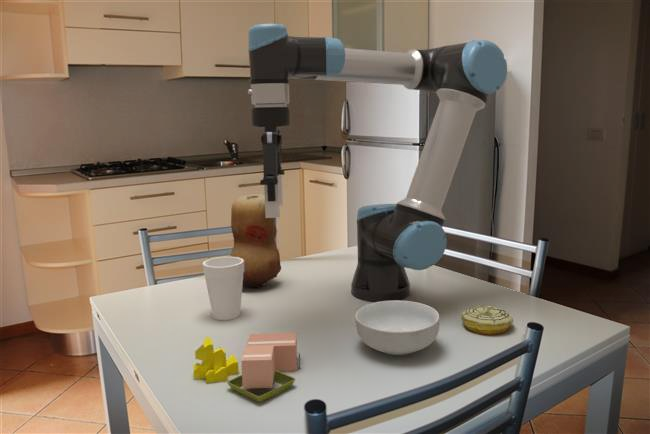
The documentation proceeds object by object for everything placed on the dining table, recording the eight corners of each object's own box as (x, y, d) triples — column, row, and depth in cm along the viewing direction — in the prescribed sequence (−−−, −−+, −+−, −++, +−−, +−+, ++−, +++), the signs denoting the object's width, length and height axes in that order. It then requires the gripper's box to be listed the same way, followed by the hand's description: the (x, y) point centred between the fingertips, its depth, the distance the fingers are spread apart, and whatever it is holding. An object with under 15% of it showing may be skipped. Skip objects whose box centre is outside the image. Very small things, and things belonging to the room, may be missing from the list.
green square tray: (226, 392, 99) (225, 381, 99) (263, 374, 105) (263, 364, 105) (259, 409, 93) (258, 397, 93) (297, 389, 100) (296, 378, 99)
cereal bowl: (354, 331, 123) (354, 300, 122) (432, 330, 123) (432, 299, 121) (356, 366, 107) (356, 330, 105) (446, 366, 106) (446, 330, 105)
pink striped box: (300, 356, 111) (299, 331, 110) (299, 370, 105) (299, 344, 104) (250, 358, 111) (249, 333, 110) (247, 372, 105) (246, 346, 104)
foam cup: (238, 323, 129) (235, 268, 126) (199, 321, 131) (196, 266, 128) (251, 309, 138) (249, 257, 135) (215, 307, 140) (212, 255, 137)
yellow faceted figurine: (239, 379, 103) (237, 338, 101) (194, 385, 101) (191, 344, 99) (236, 365, 108) (234, 326, 107) (193, 370, 107) (190, 331, 105)
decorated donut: (520, 326, 124) (521, 309, 124) (498, 341, 117) (498, 324, 116) (476, 315, 131) (477, 299, 131) (452, 328, 124) (453, 312, 123)
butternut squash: (232, 295, 148) (226, 200, 143) (228, 280, 161) (223, 193, 156) (285, 290, 151) (281, 197, 146) (277, 276, 164) (273, 190, 159)
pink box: (274, 371, 102) (273, 344, 101) (272, 387, 96) (271, 359, 95) (246, 372, 102) (245, 345, 101) (242, 388, 96) (241, 360, 95)
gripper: (256, 106, 126) (261, 201, 130) (244, 106, 101) (250, 223, 105) (290, 105, 126) (294, 200, 130) (287, 105, 101) (291, 222, 106)
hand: (274, 211), depth 118 cm, fingers open, 13 cm apart
